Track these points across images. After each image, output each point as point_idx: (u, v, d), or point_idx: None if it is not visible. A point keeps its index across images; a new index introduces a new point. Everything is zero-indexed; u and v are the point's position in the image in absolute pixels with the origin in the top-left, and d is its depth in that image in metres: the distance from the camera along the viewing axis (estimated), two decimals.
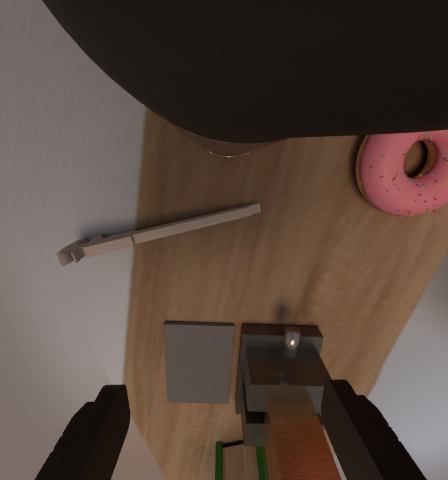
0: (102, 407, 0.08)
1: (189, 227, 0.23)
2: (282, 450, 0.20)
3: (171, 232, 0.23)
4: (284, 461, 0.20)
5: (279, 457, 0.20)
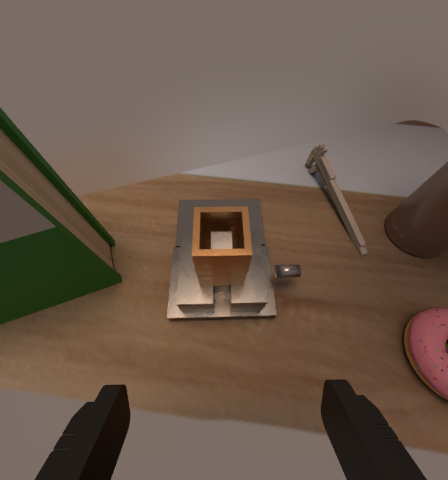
0: (102, 407, 0.08)
1: (345, 208, 0.37)
2: None
3: (340, 198, 0.37)
4: None
5: None
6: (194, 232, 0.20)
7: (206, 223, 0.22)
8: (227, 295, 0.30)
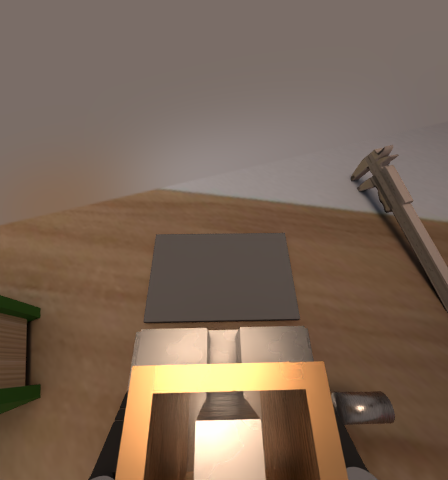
0: None
1: (434, 254, 0.22)
2: None
3: (423, 237, 0.22)
4: None
5: None
6: None
7: None
8: None
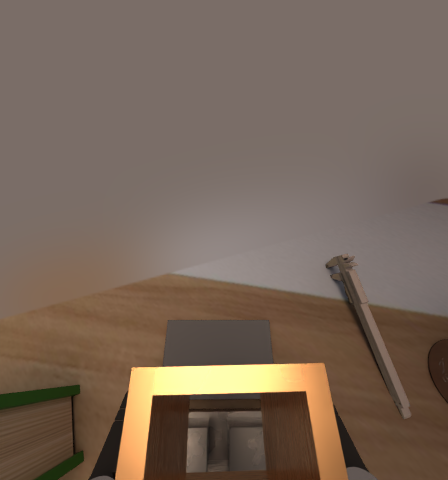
0: None
1: (381, 347, 0.29)
2: None
3: (374, 332, 0.29)
4: None
5: None
6: None
7: None
8: None
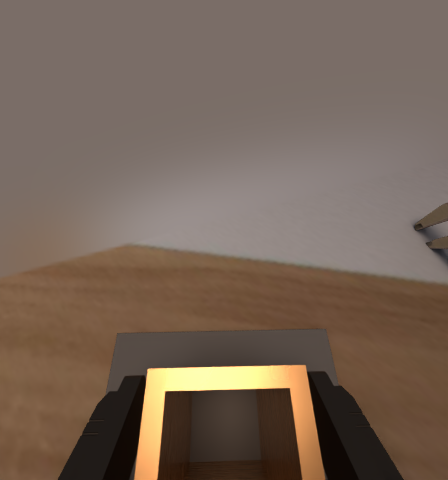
0: (125, 395, 0.08)
1: None
2: None
3: None
4: None
5: None
6: None
7: None
8: None
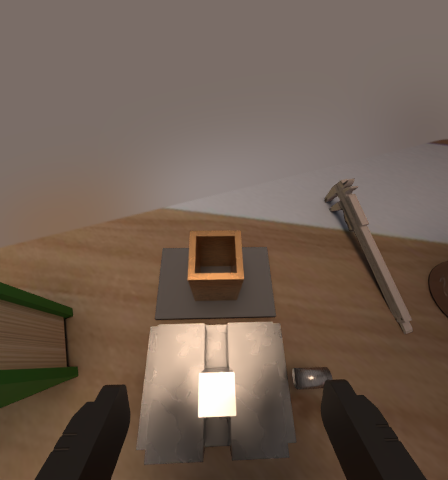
0: (102, 407, 0.08)
1: (382, 267, 0.28)
2: None
3: (374, 253, 0.28)
4: None
5: None
6: (190, 256, 0.21)
7: (201, 244, 0.24)
8: None
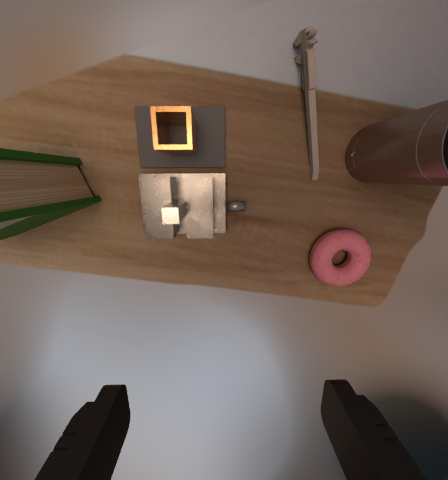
0: (102, 407, 0.08)
1: (313, 131, 0.35)
2: (193, 118, 0.32)
3: (312, 118, 0.34)
4: (193, 116, 0.31)
5: (193, 114, 0.31)
6: (153, 130, 0.29)
7: (162, 115, 0.30)
8: None
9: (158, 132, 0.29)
